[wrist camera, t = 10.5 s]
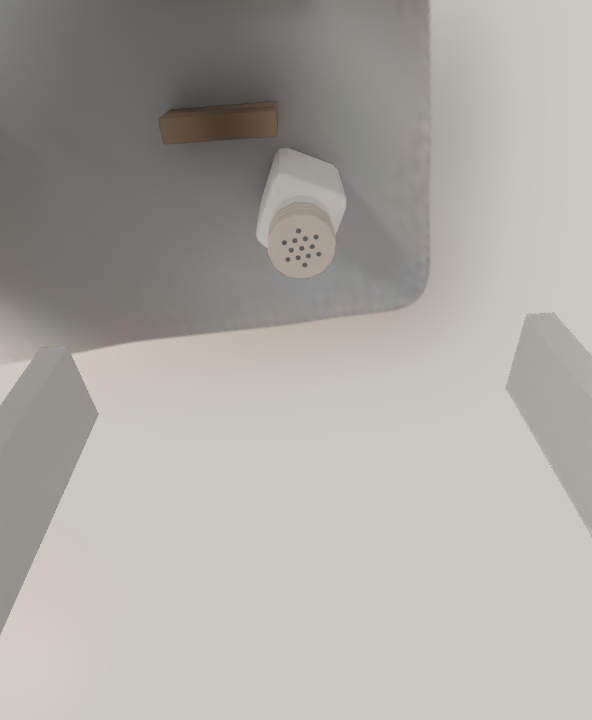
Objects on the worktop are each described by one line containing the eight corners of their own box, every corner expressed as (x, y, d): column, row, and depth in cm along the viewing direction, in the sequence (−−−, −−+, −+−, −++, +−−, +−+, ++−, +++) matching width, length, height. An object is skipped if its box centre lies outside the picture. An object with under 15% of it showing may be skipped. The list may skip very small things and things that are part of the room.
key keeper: (175, 132, 27) (163, 144, 24) (132, -74, 22) (112, -85, 19) (277, 125, 27) (276, 136, 24) (260, -85, 21) (256, -98, 19)
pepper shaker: (341, 165, 28) (359, 222, 20) (317, 226, 30) (325, 297, 23) (278, 141, 27) (273, 191, 20) (258, 205, 29) (247, 272, 22)
